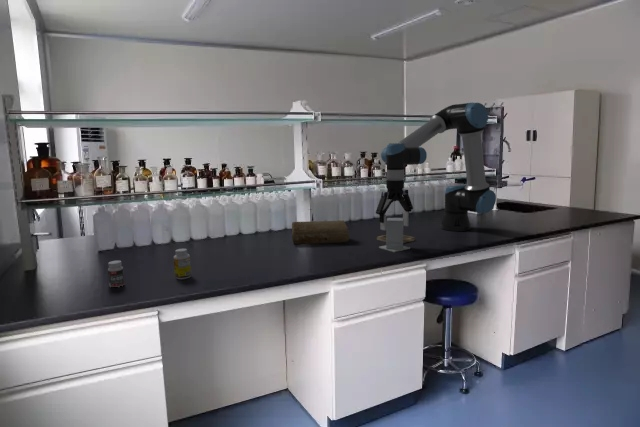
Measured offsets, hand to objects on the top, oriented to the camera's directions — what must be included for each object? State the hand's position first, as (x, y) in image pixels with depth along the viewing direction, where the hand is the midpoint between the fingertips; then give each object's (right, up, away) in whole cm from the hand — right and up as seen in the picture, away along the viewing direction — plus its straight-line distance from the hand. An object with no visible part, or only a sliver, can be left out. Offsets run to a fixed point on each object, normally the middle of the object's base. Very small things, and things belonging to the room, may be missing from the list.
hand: (394, 227), depth 186 cm
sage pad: (0, -9, +2) cm, 9 cm away
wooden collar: (+4, -6, +17) cm, 18 cm away
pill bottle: (-102, -19, -42) cm, 112 cm away
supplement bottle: (-82, -17, -34) cm, 90 cm away
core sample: (-33, -8, +17) cm, 38 cm away
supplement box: (0, -9, +2) cm, 9 cm away
